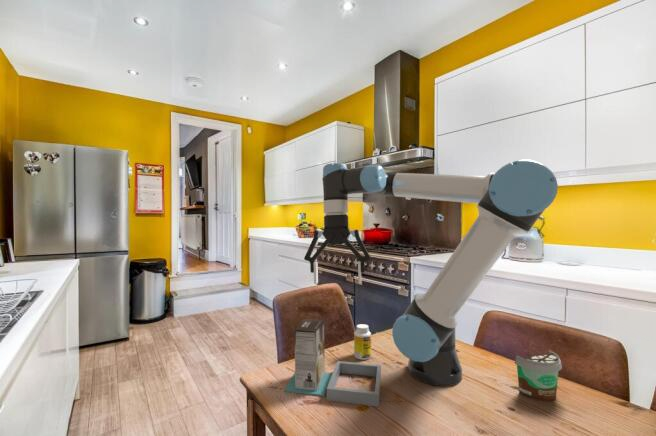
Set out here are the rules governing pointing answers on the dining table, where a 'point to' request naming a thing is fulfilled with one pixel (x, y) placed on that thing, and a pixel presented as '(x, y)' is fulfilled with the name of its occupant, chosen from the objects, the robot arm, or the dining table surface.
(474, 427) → the dining table surface
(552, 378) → the food container
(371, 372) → the square frame
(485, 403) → the dining table surface
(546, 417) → the dining table surface
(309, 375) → the coffee box
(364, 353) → the supplement bottle
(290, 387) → the mat
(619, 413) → the dining table surface
